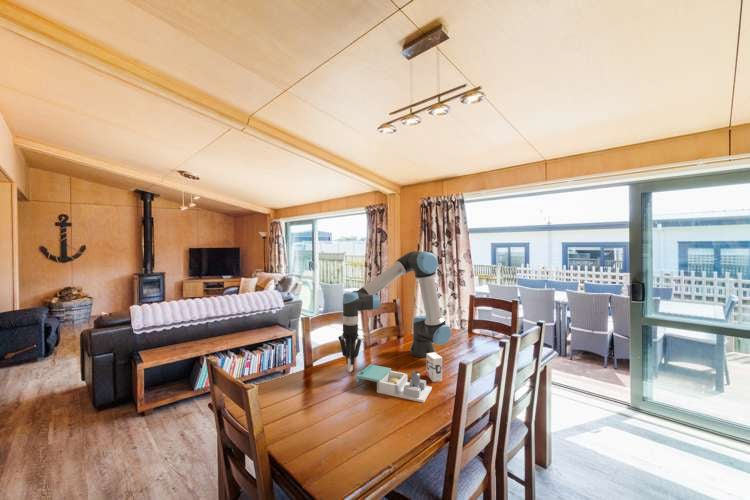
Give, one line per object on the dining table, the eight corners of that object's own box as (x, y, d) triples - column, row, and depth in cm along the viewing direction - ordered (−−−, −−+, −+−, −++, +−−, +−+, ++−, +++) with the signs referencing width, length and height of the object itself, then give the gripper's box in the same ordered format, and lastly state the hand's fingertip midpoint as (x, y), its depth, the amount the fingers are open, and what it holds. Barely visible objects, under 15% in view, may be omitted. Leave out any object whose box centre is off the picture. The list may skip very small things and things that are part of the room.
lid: (369, 370, 161) (370, 362, 161) (391, 374, 156) (391, 365, 156) (356, 381, 147) (356, 372, 147) (379, 386, 143) (379, 377, 142)
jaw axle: (412, 390, 146) (412, 370, 146) (420, 391, 144) (420, 372, 144) (409, 393, 142) (409, 374, 142) (418, 395, 141) (418, 375, 141)
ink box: (425, 375, 162) (425, 352, 162) (434, 374, 164) (434, 351, 163) (433, 382, 154) (433, 358, 154) (442, 381, 156) (442, 357, 155)
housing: (388, 380, 156) (388, 370, 156) (431, 388, 147) (432, 378, 147) (376, 392, 144) (376, 381, 143) (423, 402, 134) (423, 391, 134)
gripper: (335, 324, 156) (335, 371, 156) (358, 327, 150) (358, 375, 151) (342, 320, 163) (342, 365, 163) (365, 323, 157) (365, 370, 158)
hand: (350, 370), depth 157 cm, fingers closed
